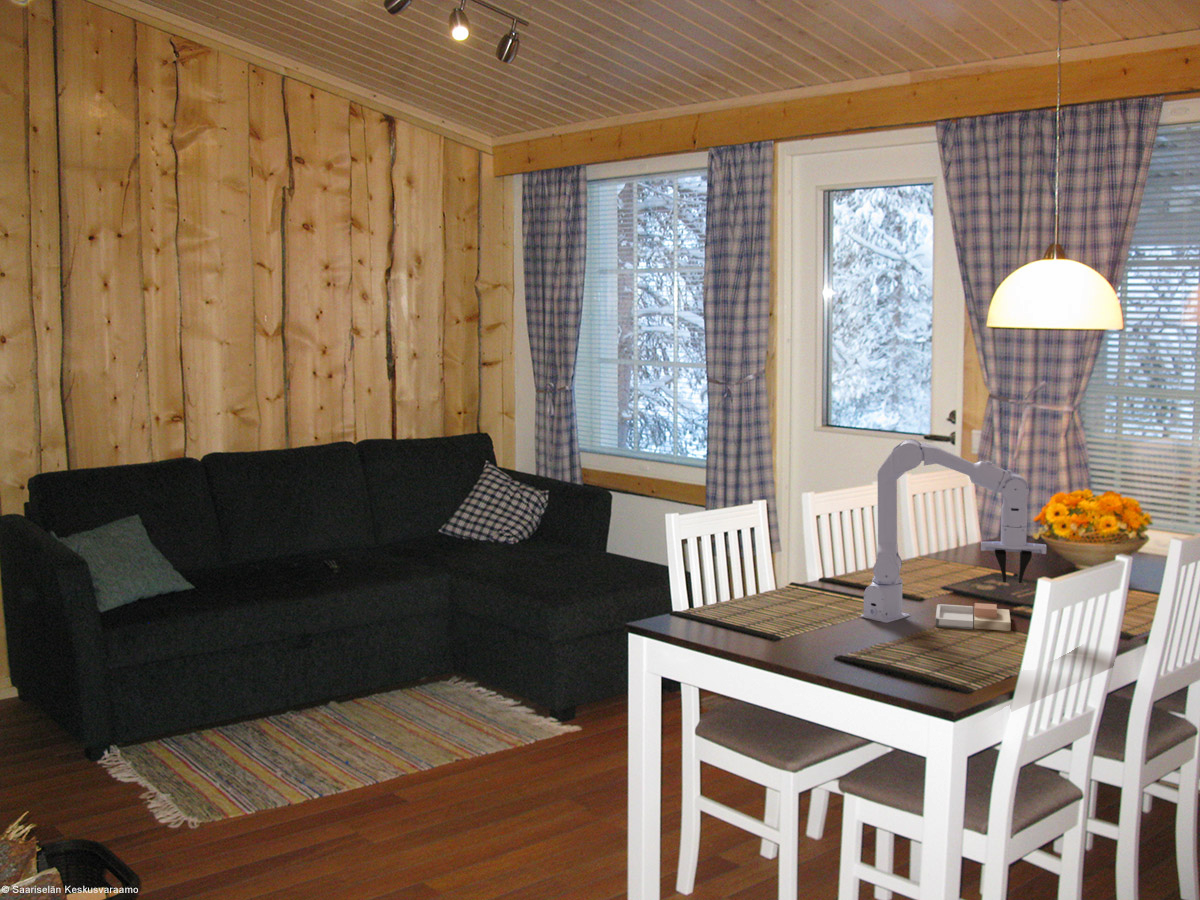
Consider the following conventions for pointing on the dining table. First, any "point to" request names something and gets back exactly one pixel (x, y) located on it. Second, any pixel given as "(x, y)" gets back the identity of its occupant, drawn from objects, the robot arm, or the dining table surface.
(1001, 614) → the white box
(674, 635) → the dining table surface
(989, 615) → the tile
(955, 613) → the tray
